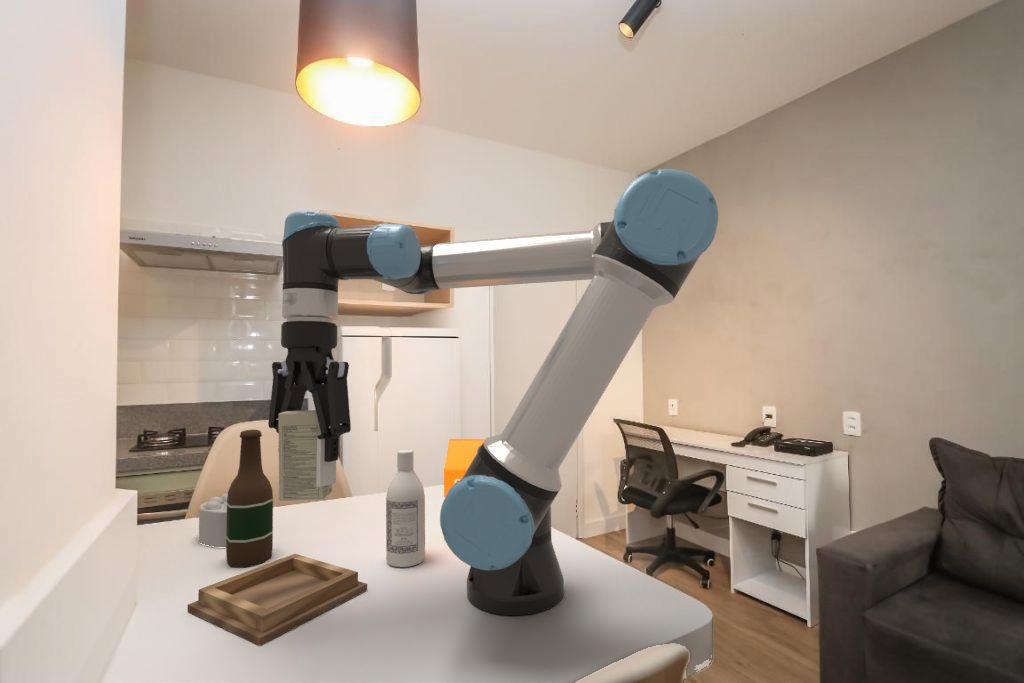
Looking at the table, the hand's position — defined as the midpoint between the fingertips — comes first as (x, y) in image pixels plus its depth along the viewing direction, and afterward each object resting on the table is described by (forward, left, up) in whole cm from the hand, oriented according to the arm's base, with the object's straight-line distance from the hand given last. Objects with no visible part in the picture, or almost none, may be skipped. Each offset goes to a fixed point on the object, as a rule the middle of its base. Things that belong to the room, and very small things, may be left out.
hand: (307, 481), depth 70 cm
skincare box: (0, 0, -2) cm, 2 cm away
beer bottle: (+29, -9, -20) cm, 36 cm away
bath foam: (+3, -23, -20) cm, 30 cm away
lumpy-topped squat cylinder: (+45, -14, -20) cm, 51 cm away
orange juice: (+1, -40, -20) cm, 45 cm away
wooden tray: (+9, -2, -20) cm, 22 cm away
